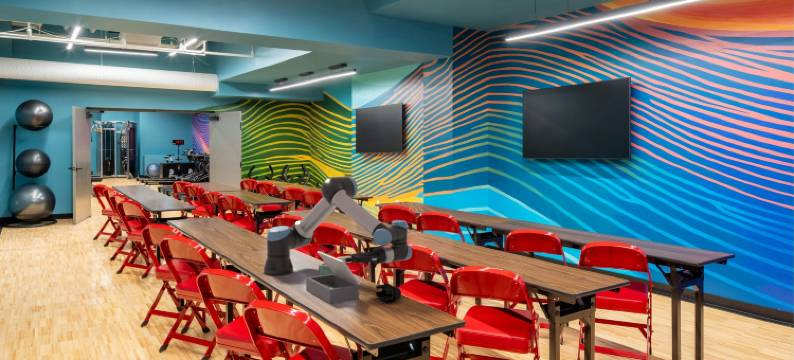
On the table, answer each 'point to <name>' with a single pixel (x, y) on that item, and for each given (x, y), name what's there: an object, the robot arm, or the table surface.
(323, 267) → the box
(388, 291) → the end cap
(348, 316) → the table surface
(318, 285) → the grey tray
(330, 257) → the cover
